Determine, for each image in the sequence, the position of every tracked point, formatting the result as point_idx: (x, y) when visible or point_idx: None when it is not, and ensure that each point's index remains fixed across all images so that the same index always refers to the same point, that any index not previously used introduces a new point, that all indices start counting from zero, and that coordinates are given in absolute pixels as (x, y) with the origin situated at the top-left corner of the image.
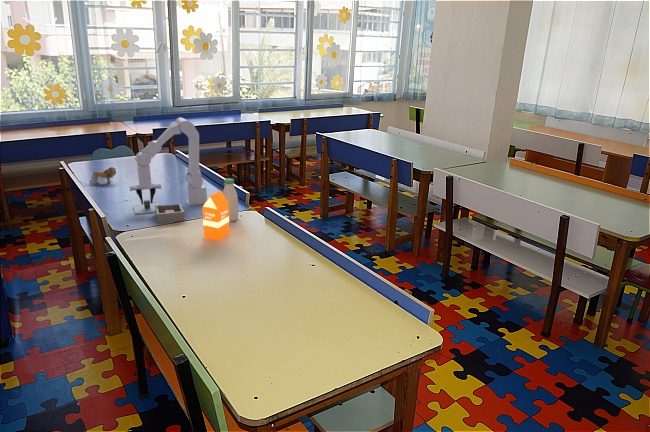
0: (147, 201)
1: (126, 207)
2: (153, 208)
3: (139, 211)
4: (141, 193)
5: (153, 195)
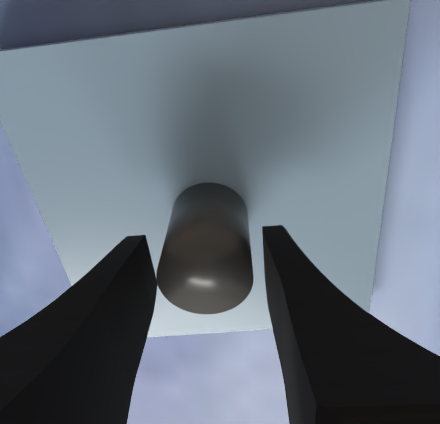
0: (192, 261)
1: (427, 308)
2: (127, 175)
3: (324, 86)
4: (327, 379)
5: (18, 331)
